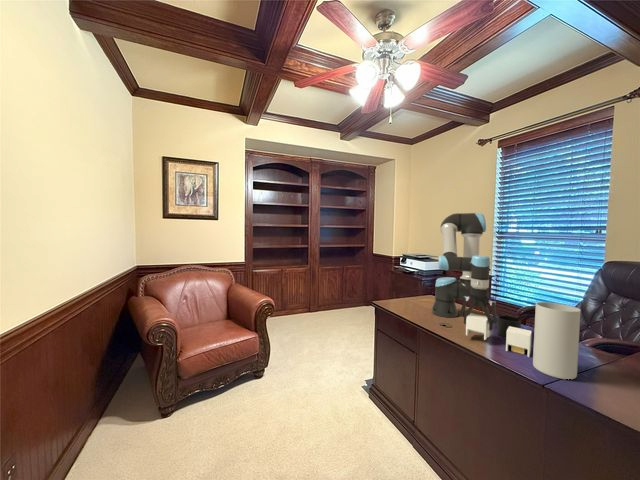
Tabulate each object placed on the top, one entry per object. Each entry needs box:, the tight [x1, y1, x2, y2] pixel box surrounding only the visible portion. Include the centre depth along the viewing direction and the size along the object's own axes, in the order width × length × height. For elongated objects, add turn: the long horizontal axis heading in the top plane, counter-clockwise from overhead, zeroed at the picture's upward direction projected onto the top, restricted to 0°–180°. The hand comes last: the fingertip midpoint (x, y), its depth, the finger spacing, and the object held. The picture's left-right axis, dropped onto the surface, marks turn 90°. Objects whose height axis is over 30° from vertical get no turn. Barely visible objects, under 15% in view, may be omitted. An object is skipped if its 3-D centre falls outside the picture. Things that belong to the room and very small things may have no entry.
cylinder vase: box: [532, 301, 581, 381], centre depth 99 cm, size 12×12×25 cm
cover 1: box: [465, 312, 489, 341], centre depth 127 cm, size 8×8×9 cm
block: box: [510, 345, 526, 355], centre depth 116 cm, size 4×4×4 cm
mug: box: [496, 315, 522, 339], centre depth 134 cm, size 9×12×9 cm
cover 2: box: [505, 326, 533, 358], centre depth 116 cm, size 8×8×9 cm
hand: (477, 333), depth 128 cm, fingers closed on cover 1, 8 cm apart
